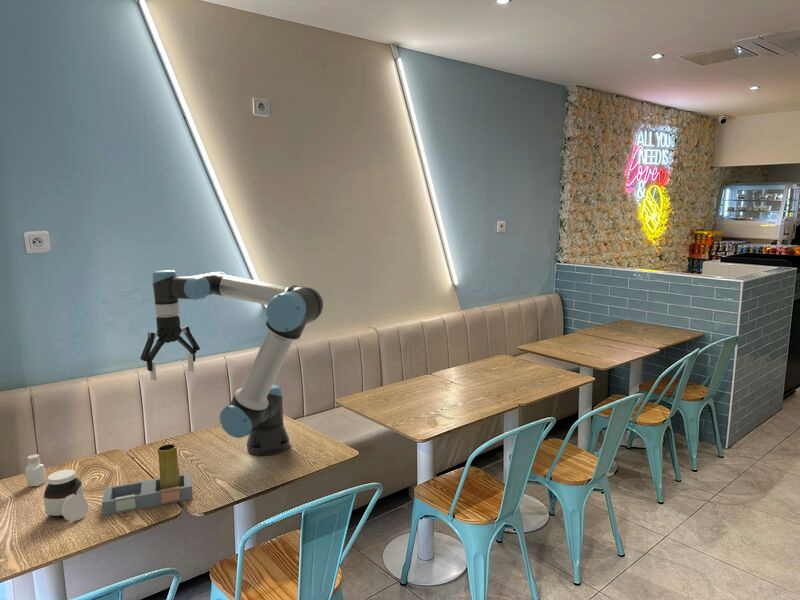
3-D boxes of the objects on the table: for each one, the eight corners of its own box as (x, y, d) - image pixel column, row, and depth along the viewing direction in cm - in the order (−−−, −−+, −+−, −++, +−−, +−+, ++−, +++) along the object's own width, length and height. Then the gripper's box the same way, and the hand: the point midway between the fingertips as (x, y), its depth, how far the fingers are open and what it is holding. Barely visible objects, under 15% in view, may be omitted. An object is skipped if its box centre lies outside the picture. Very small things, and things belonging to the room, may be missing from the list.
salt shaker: (37, 487, 184) (33, 459, 183) (26, 487, 185) (22, 458, 183) (47, 482, 188) (43, 454, 186) (36, 481, 189) (32, 453, 187)
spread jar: (63, 504, 173) (58, 467, 171) (100, 503, 173) (96, 466, 171) (37, 525, 161) (32, 486, 160) (77, 525, 161) (72, 485, 159)
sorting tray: (191, 484, 183) (190, 471, 183) (192, 499, 174) (191, 486, 173) (106, 500, 175) (105, 486, 174) (103, 516, 165) (101, 502, 164)
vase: (156, 492, 176) (152, 447, 174) (175, 485, 181) (171, 441, 179) (166, 498, 172) (162, 452, 170) (185, 491, 177) (181, 446, 175)
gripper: (196, 309, 212) (200, 366, 215) (126, 319, 194) (132, 381, 197) (206, 311, 207) (211, 369, 210) (135, 322, 189) (141, 385, 192)
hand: (173, 375), depth 204 cm, fingers open, 13 cm apart
